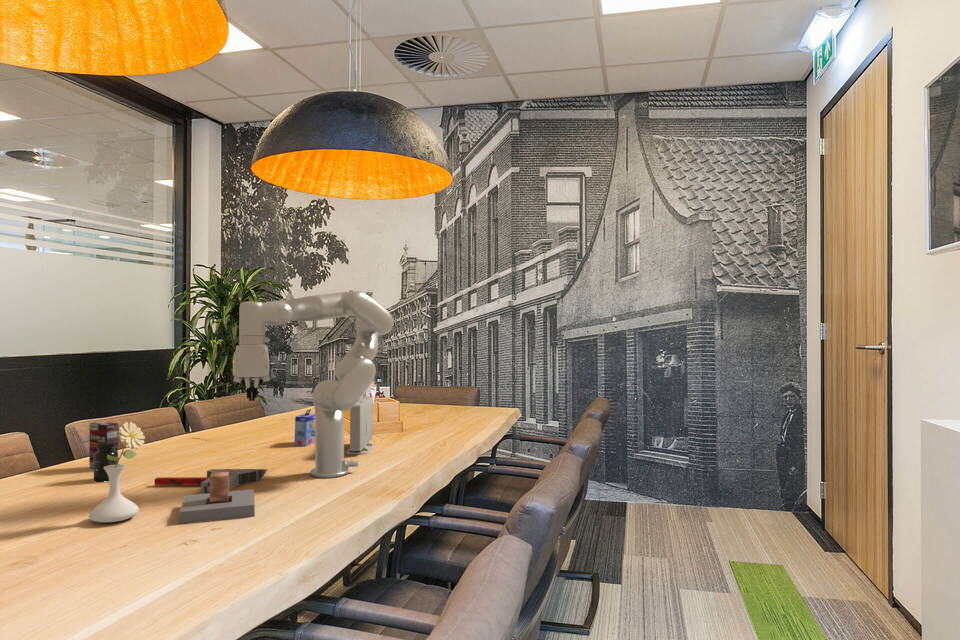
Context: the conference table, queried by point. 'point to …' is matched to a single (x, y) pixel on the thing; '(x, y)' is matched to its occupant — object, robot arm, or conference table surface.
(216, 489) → the peg
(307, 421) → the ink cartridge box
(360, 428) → the network device
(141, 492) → the conference table surface
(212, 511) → the board
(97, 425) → the supplement box
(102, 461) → the supplement bottle
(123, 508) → the flower in vase
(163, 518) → the conference table surface
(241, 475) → the grey and red axe
